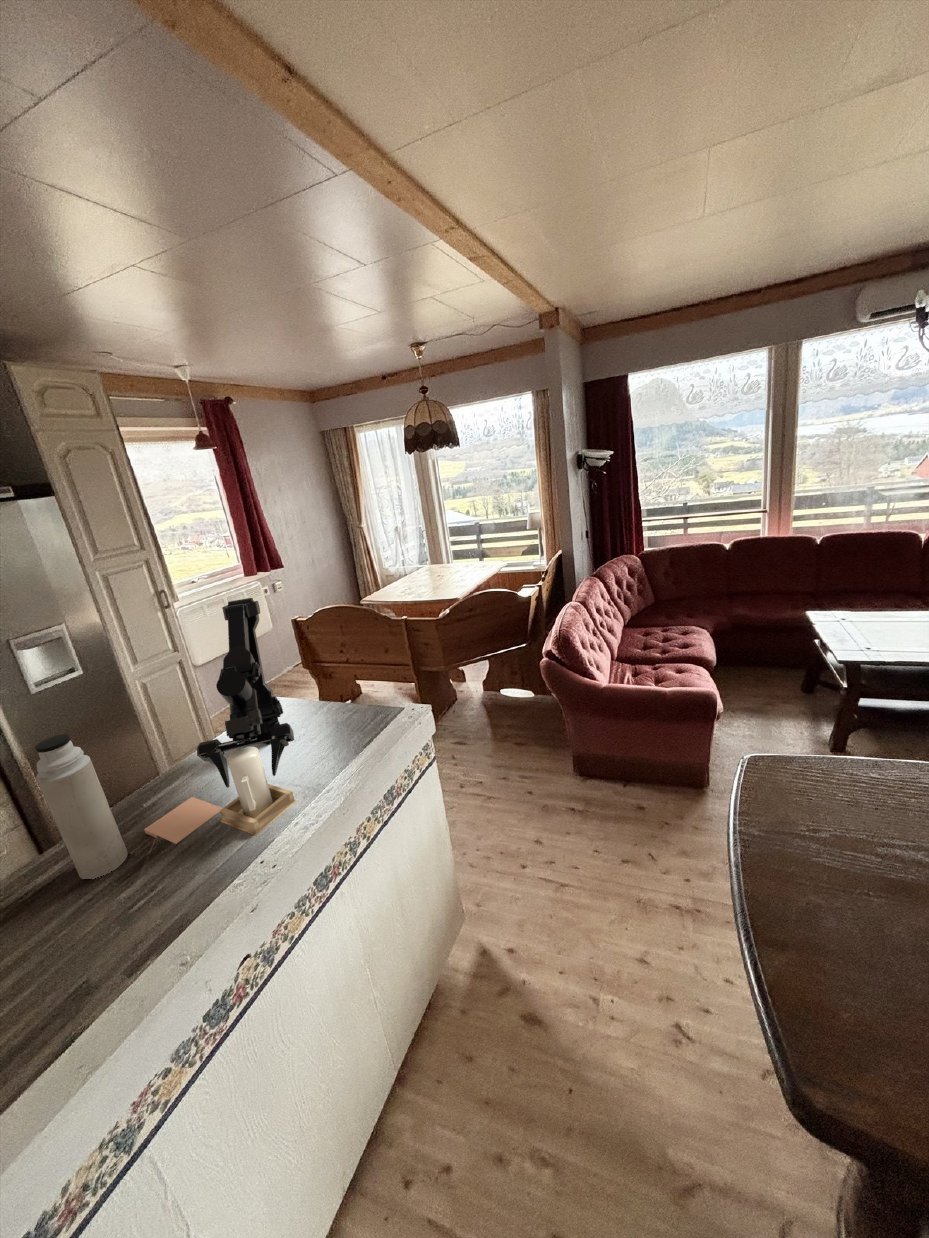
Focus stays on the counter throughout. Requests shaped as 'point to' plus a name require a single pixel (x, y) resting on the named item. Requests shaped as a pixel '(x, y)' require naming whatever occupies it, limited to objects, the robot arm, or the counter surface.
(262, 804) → the jug
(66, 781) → the thermos bottle
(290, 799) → the holder
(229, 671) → the robot arm
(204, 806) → the tile
